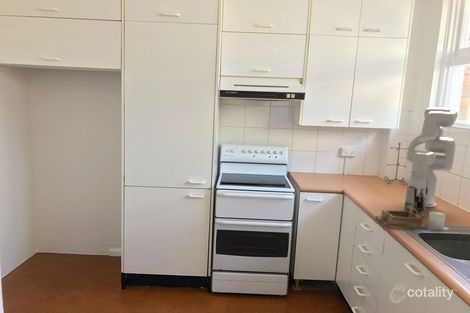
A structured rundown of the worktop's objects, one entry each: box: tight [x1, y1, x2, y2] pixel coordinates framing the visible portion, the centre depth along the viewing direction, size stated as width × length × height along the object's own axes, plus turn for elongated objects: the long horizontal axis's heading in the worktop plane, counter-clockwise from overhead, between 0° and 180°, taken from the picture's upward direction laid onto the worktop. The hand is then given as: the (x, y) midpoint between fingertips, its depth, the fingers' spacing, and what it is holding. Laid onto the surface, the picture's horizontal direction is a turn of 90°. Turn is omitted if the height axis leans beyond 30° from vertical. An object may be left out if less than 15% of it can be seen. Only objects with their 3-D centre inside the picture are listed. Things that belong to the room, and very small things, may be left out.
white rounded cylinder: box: [427, 211, 446, 230], centre depth 175 cm, size 7×7×7 cm
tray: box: [375, 209, 429, 230], centre depth 178 cm, size 16×19×5 cm
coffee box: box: [403, 186, 428, 218], centre depth 192 cm, size 9×6×16 cm
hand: (415, 205), depth 193 cm, fingers closed on coffee box, 8 cm apart
